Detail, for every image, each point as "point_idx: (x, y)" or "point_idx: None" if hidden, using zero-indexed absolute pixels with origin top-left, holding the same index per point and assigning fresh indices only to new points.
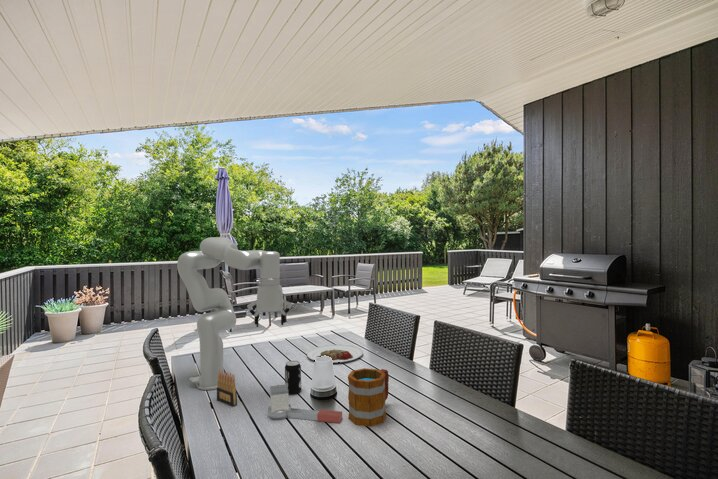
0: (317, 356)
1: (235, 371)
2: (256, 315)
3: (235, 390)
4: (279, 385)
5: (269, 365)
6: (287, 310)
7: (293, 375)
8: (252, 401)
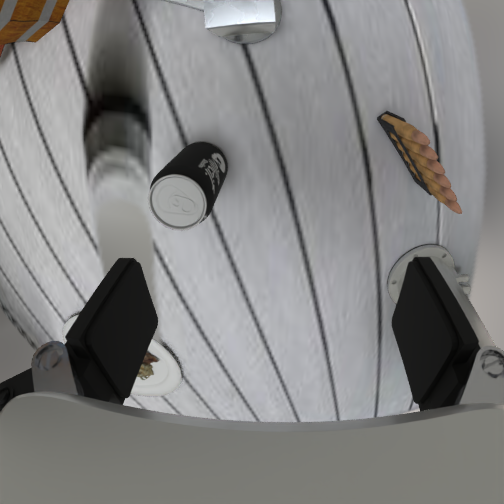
0: (156, 361)
1: (358, 337)
2: (478, 368)
3: (396, 126)
4: (235, 20)
5: (273, 352)
6: (10, 390)
7: (183, 158)
8: (332, 127)
